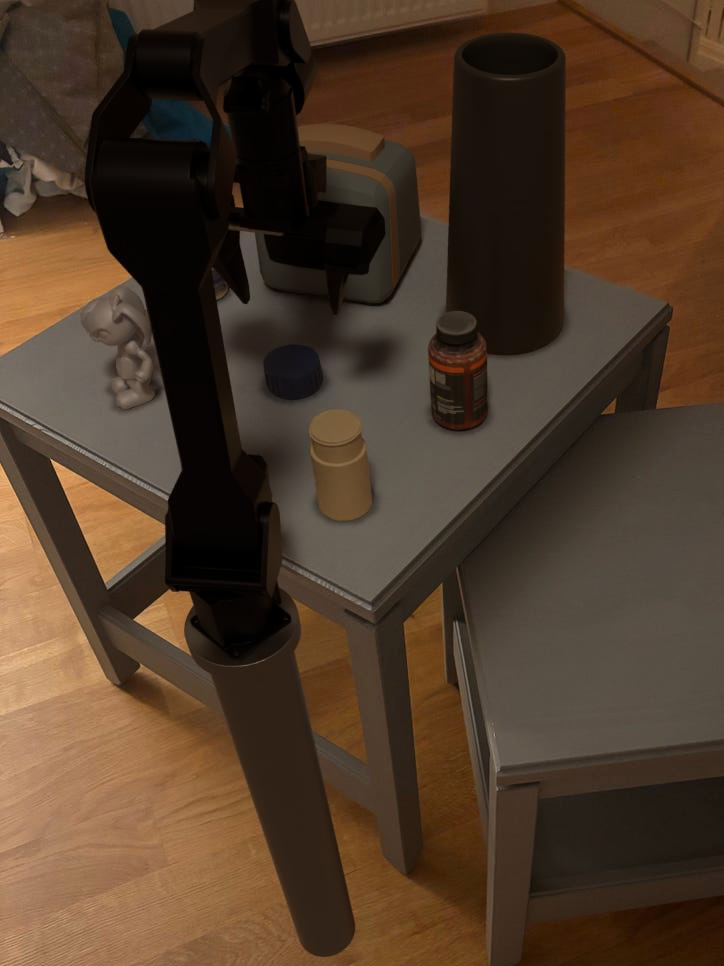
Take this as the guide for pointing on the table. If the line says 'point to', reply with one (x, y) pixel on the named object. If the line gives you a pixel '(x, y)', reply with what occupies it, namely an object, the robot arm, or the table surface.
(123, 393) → the toy figurine
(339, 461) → the jar
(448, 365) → the supplement bottle
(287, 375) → the jar lid
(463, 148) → the vase
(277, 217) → the robot arm
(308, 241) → the alarm clock
